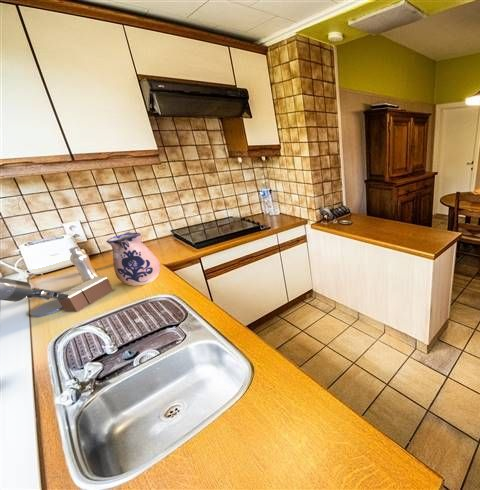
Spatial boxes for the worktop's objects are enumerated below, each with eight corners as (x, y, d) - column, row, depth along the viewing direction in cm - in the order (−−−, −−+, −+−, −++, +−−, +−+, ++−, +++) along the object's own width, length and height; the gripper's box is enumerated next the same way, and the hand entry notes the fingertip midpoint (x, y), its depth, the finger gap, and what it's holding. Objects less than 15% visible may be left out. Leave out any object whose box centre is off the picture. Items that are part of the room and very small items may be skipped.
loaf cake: (90, 304, 120) (81, 289, 117) (78, 304, 121) (69, 289, 117) (113, 290, 130) (106, 276, 127) (102, 290, 131) (95, 276, 127)
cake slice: (77, 312, 115) (68, 296, 112) (65, 311, 116) (55, 296, 113) (89, 305, 120) (80, 290, 116) (77, 304, 120) (68, 290, 117)
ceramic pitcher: (122, 295, 126) (98, 247, 116) (122, 279, 141) (101, 235, 131) (166, 281, 136) (148, 236, 126) (162, 267, 151) (145, 226, 141)
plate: (26, 321, 111) (25, 319, 110) (35, 307, 120) (33, 305, 120) (70, 308, 118) (69, 306, 118) (75, 296, 127) (74, 294, 127)
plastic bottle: (93, 285, 136) (74, 250, 128) (80, 286, 136) (60, 251, 128) (105, 279, 142) (87, 245, 134) (92, 279, 142) (74, 245, 134)
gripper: (26, 279, 96) (76, 288, 112) (-7, 279, 98) (47, 288, 113) (16, 300, 94) (69, 306, 109) (-18, 299, 95) (39, 306, 110)
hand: (58, 297), depth 111 cm, fingers open, 8 cm apart
